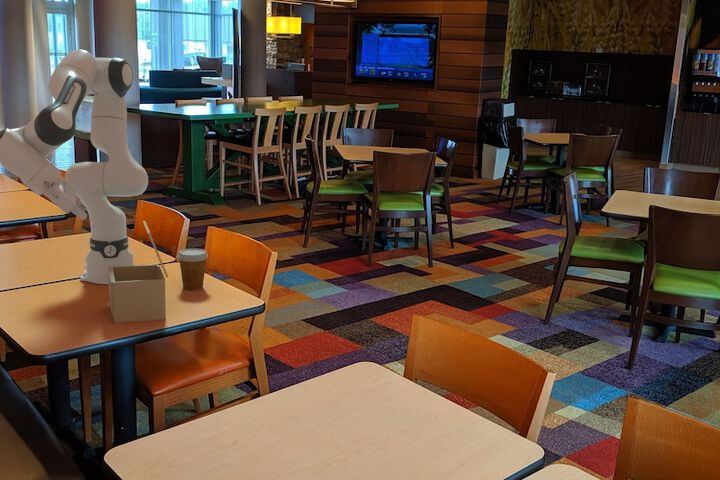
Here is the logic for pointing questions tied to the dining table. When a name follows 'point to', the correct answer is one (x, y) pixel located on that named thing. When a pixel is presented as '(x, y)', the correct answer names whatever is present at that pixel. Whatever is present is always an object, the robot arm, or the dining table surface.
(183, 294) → the dining table surface
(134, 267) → the carton
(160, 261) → the lid flap
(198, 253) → the disposable coffee cup
